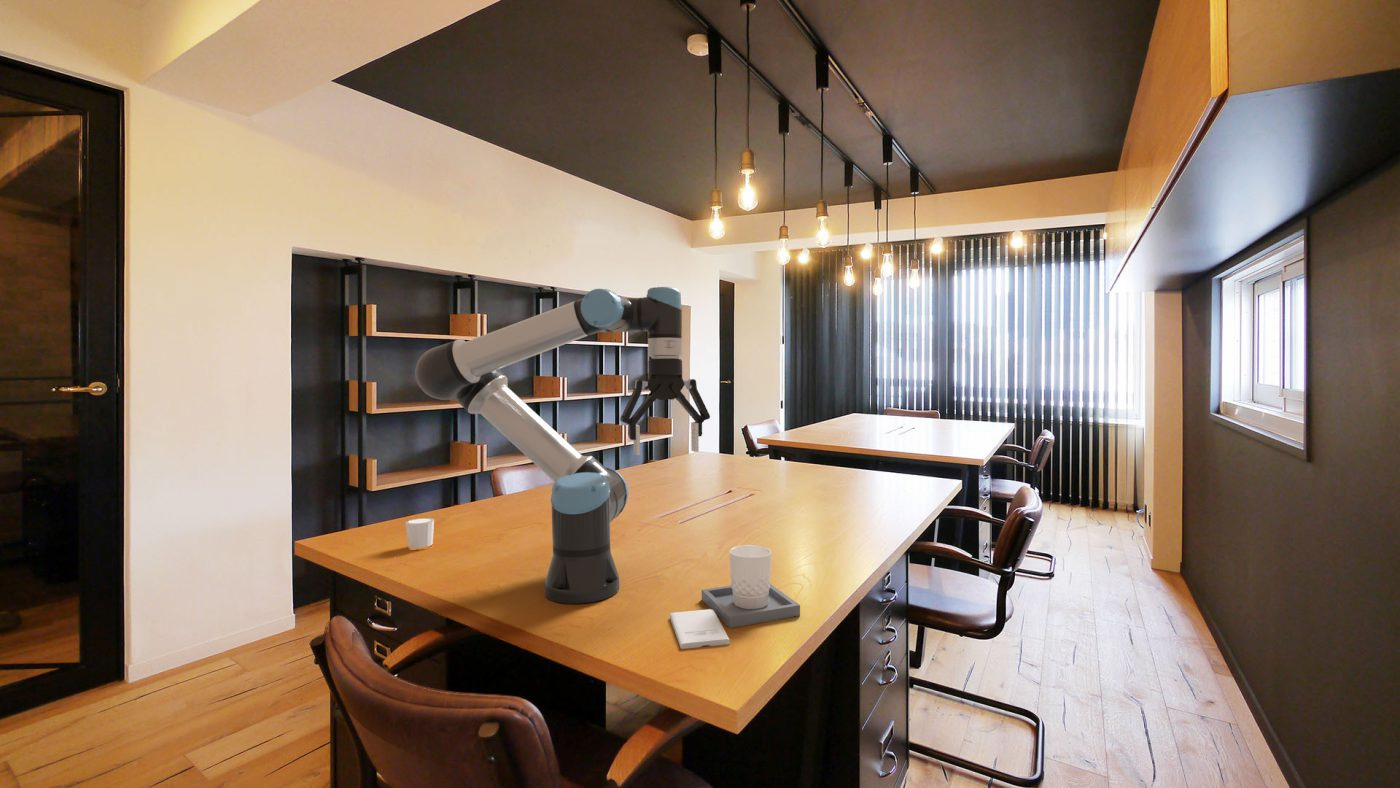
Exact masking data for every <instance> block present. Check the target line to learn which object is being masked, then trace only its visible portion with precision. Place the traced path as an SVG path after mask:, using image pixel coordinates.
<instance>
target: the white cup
mask: <svg viewBox="0 0 1400 788" xmlns="http://www.w3.org/2000/svg"><path fill="white" fill-rule="evenodd" d="M729 562H730V563H729V564H730V567H729V568H730V580H731V581H730V582H731V585H732V590H733V591H732V593H733V603H734V604H735V606H737V607H740V608H744V609H760V608H764V607H765V606H767V605H768V601H769V589H770V584H771V571H772V570H771V568H772V567H771V566H772V550H771V549H770V548H768V547H765V546H761V545H755V544H746V545H744V544H743V545H742V544H741V545H738V546H737V545H736V546H734V547H732V548H731V549H729ZM731 585H730V586H731Z"/></svg>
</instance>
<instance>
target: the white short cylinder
mask: <svg viewBox="0 0 1400 788" xmlns="http://www.w3.org/2000/svg"><path fill="white" fill-rule="evenodd" d="M434 527H435V518H432V517H420V518H413V519H410V520H407V521H405V531H406V536H407V537H406V538H407V544H408V548H409V547H411V548H421V547H427V546H430V545H432V544H433V543H434V530H435V529H434Z"/></svg>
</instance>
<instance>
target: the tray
mask: <svg viewBox="0 0 1400 788" xmlns="http://www.w3.org/2000/svg"><path fill="white" fill-rule="evenodd" d="M732 591H733V590H732V585H725V586H719V587H713V588H712V587H711V588H704V589H701V601H702V602H704V603H705V605H706V606H707V607H708V609H712V610H714V612H715V613H716V615H717V617H718V619H719V620H721V621H722V622H723V623H724V624H725V625H726V626H727V627H728V628H729V629H732V628H737V627H743V626H748V625H754V624H755V625H756V624H760V623H768V622H771V621H778V620H779V621H780V620H785V619H790V618H795V617H794V616H796V617H800V616H801V605H800V604H799V603H798V602H796V601H795V600H793V599H792V598H791V597H789V596H788V595H787V594H785V593H784V592H782V591H781V590H779V588H777V587H775V585H772V583H770V589H769V601H768V605H767V606H765V607H764V608H760V609H744V608H740V607H737V606H735V604H734V603H733V593H732Z"/></svg>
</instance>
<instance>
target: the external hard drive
mask: <svg viewBox="0 0 1400 788" xmlns="http://www.w3.org/2000/svg"><path fill="white" fill-rule="evenodd" d="M669 620H670V623H671V625H672V628H673V632H674V633H675V635H676V639H677V641H678V645H679V647H680V649H681V650H685V649H694V648H702V647H715V646H716V647H717V646H724V645H730V644H731V643H730V638H729V636H728V634H727V632H726V630H725V629H724V626H723V624H722V623H721V621H720V618H719V617H718V616H717V615H716V613H715V612H714V610H712V609H710V608H708V609H707V608H706V609H700V610H687V611H676V612H670V614H669Z"/></svg>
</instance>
